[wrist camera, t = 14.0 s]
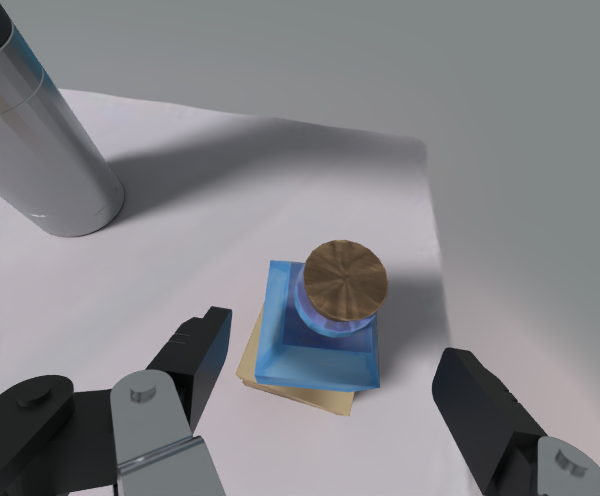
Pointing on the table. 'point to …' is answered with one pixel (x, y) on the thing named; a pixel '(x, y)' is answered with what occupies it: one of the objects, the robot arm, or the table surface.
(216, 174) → the table surface
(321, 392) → the tower top block
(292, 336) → the perfume bottle
